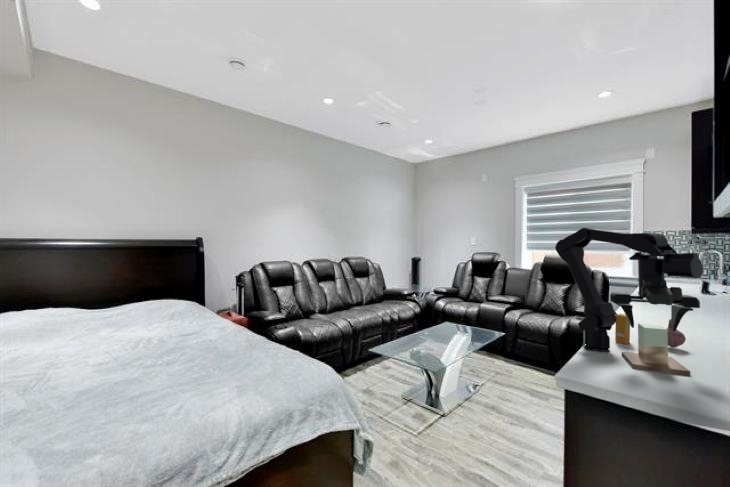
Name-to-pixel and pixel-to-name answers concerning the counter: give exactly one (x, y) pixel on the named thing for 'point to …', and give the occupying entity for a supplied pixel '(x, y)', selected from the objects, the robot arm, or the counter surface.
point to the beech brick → (653, 354)
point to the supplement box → (622, 329)
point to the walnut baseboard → (640, 364)
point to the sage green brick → (652, 335)
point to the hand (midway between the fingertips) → (652, 329)
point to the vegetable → (674, 337)
